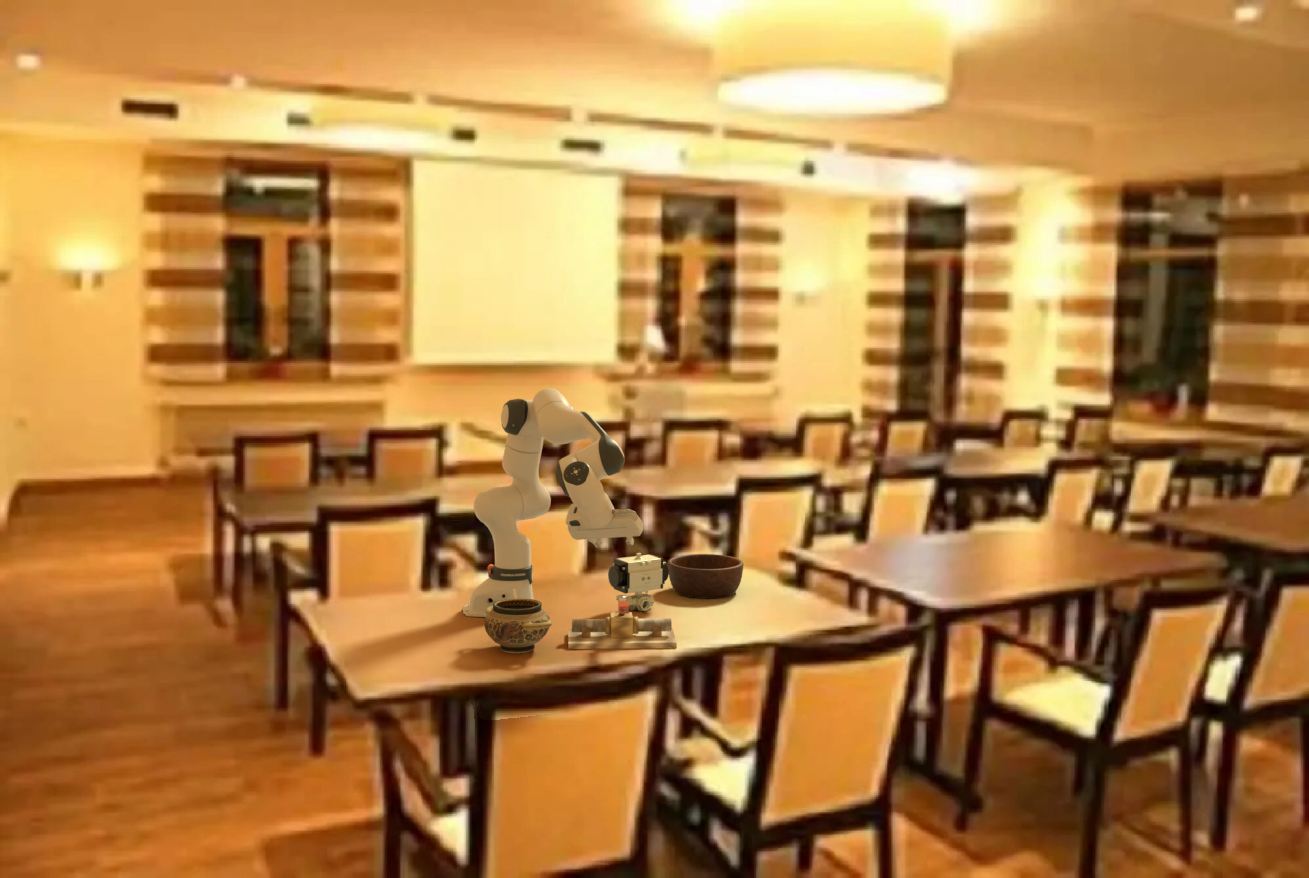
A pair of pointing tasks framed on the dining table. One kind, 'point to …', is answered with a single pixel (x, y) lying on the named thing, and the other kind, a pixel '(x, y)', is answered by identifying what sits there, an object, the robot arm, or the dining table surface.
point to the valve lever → (622, 604)
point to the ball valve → (638, 578)
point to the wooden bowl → (705, 575)
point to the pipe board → (621, 643)
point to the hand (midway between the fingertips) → (614, 544)
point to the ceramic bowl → (516, 624)
